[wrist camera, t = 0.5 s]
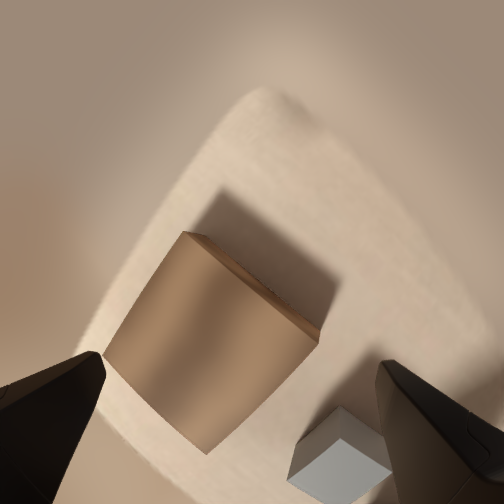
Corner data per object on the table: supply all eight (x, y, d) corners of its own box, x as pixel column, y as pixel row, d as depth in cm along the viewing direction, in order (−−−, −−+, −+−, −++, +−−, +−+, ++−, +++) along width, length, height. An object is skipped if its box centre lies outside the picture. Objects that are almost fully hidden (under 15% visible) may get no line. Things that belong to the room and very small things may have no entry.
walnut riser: (320, 329, 21) (318, 343, 18) (223, 431, 23) (206, 454, 19) (206, 235, 24) (183, 230, 20) (130, 345, 25) (102, 355, 21)
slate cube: (384, 436, 19) (392, 472, 15) (340, 473, 20) (338, 511, 15) (339, 404, 21) (340, 438, 16) (295, 444, 21) (286, 480, 16)
